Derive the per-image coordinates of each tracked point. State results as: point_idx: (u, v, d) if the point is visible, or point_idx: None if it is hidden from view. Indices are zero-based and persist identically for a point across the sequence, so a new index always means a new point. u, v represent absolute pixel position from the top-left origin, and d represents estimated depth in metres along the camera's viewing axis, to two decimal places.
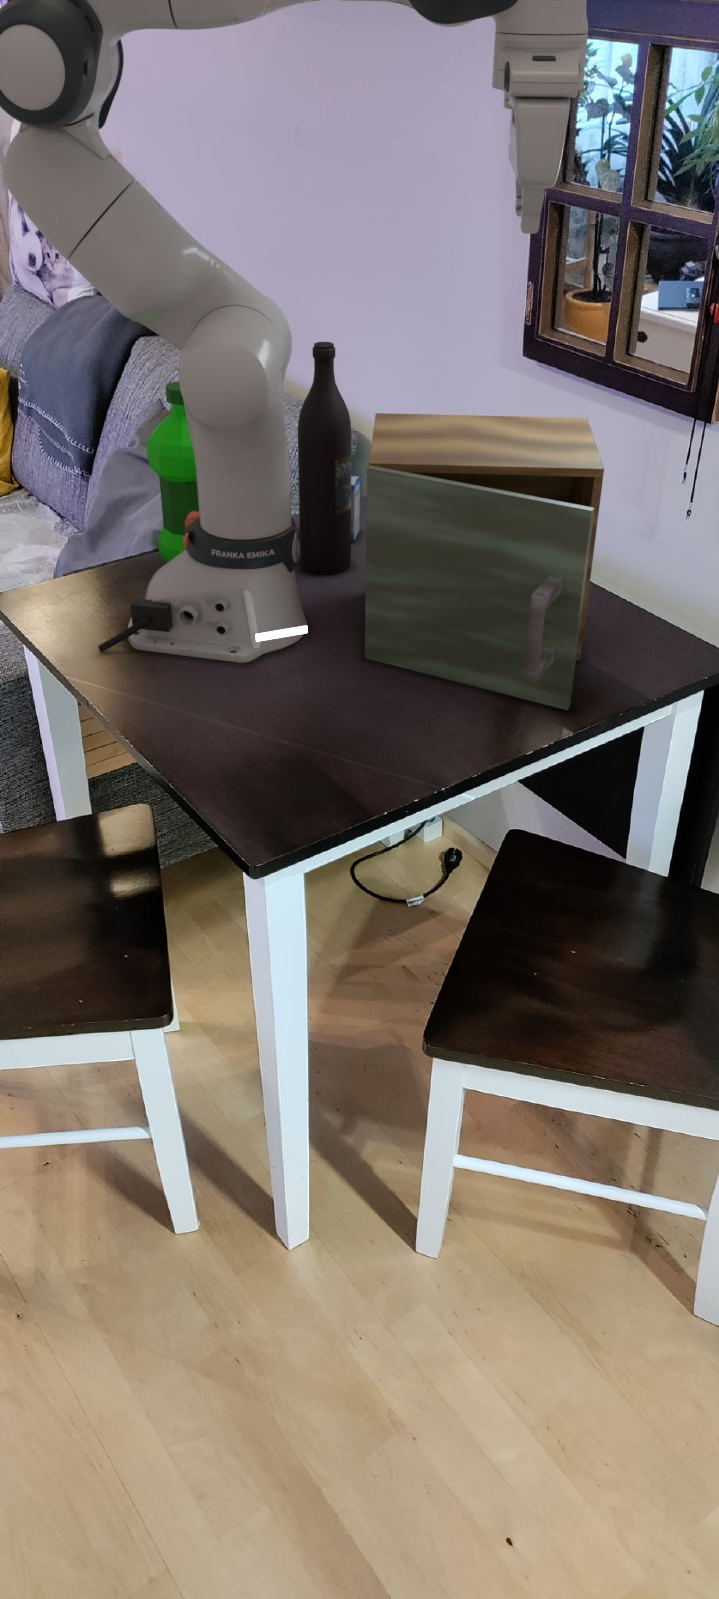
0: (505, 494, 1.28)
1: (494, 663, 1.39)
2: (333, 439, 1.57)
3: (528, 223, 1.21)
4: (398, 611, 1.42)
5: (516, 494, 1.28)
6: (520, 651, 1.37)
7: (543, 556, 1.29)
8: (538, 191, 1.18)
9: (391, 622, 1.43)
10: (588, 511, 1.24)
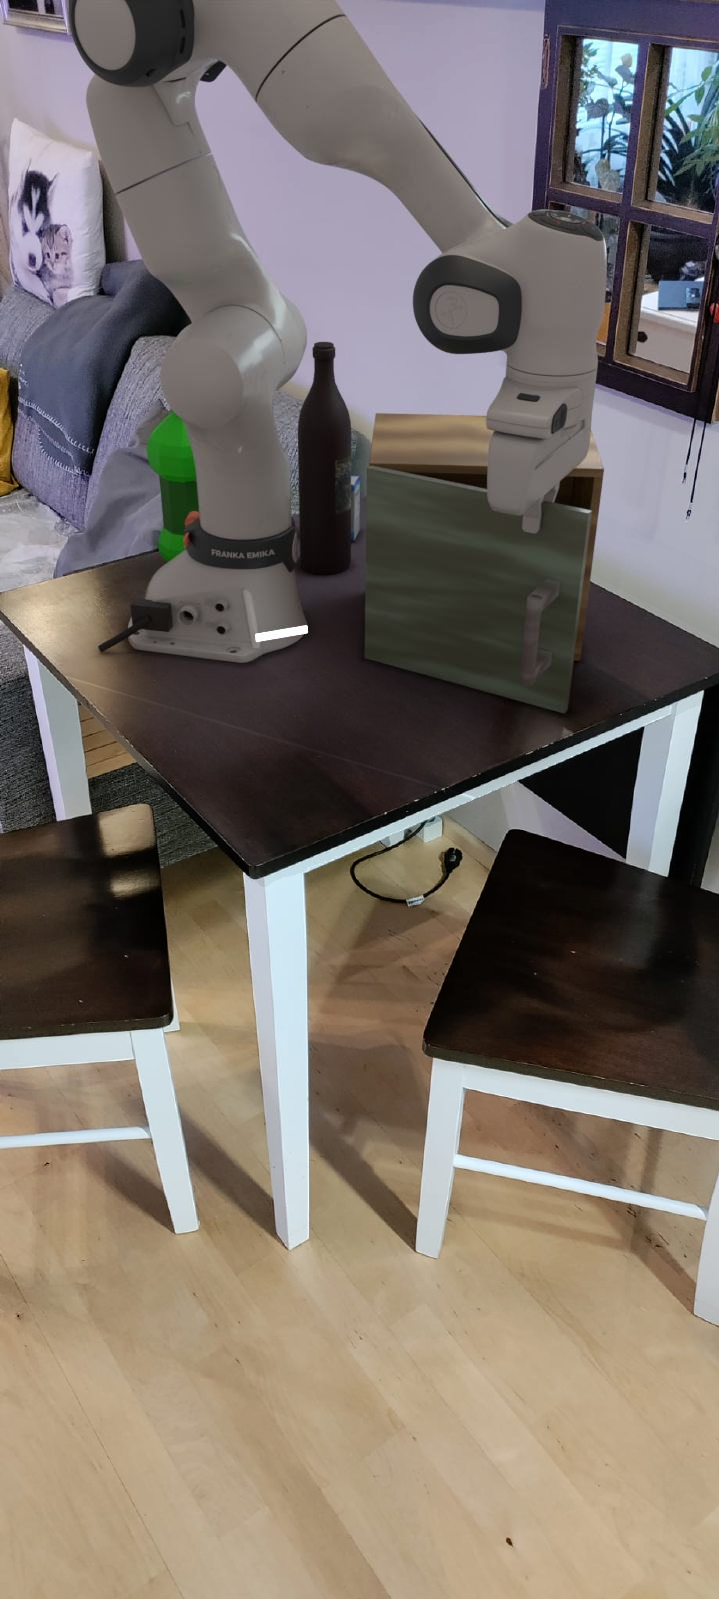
0: None
1: (492, 665, 1.39)
2: (332, 439, 1.57)
3: (528, 523, 1.26)
4: (398, 612, 1.42)
5: None
6: (518, 653, 1.36)
7: (540, 558, 1.29)
8: None
9: (390, 622, 1.43)
10: (585, 514, 1.24)
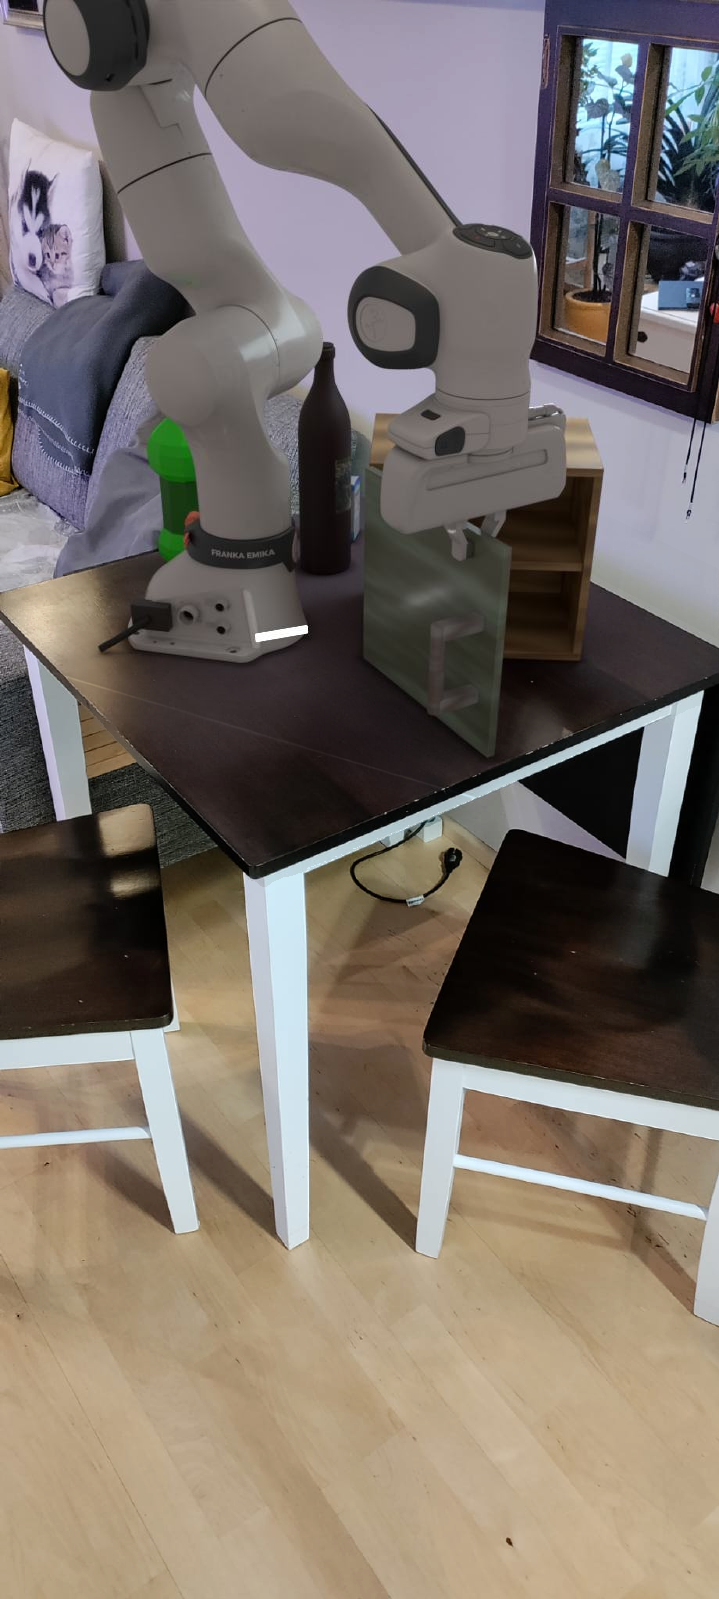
0: None
1: None
2: (332, 439, 1.57)
3: (455, 549, 1.20)
4: (383, 617, 1.41)
5: None
6: (457, 684, 1.31)
7: (472, 589, 1.23)
8: (452, 525, 1.18)
9: (378, 626, 1.42)
10: (501, 550, 1.16)
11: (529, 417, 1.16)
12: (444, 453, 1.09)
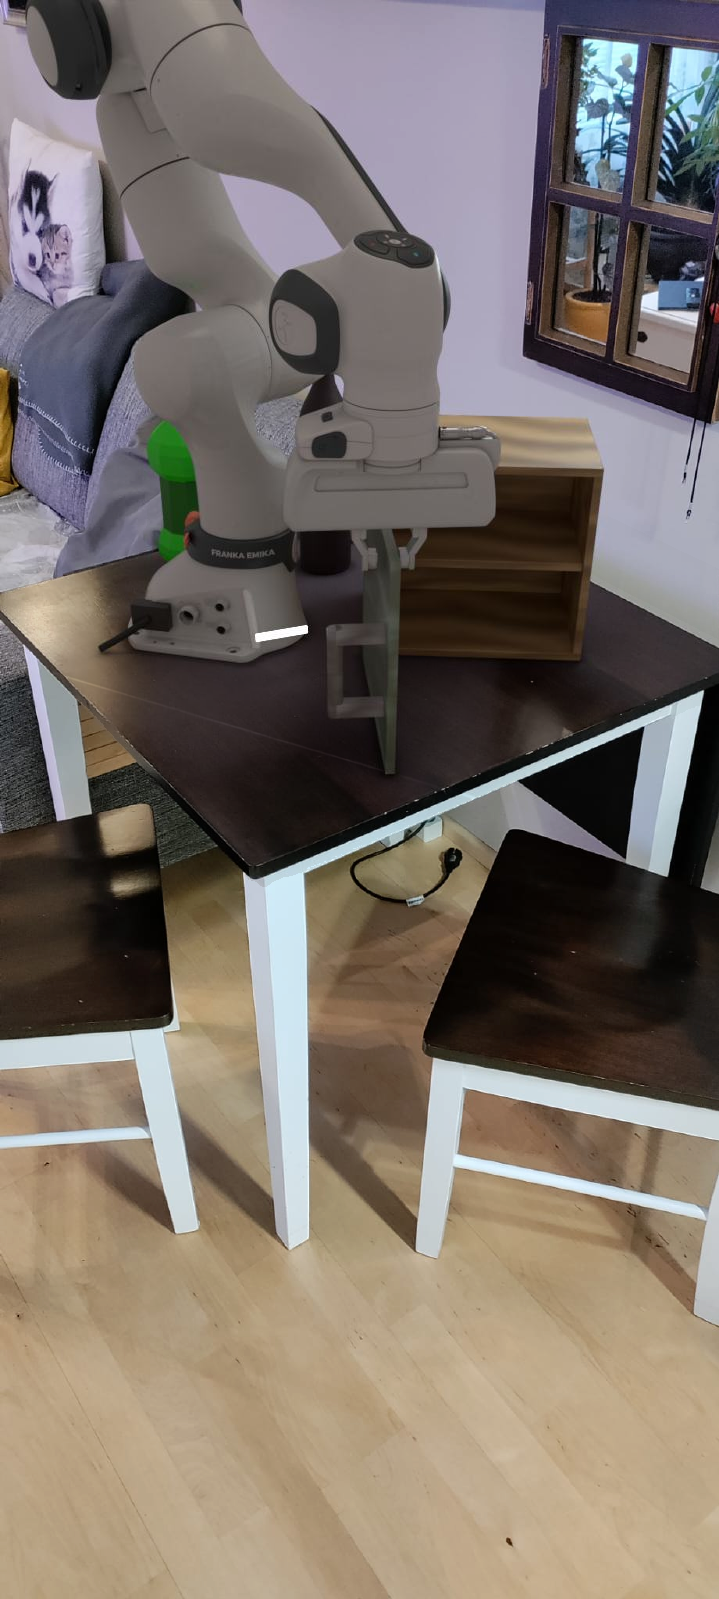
0: None
1: None
2: None
3: (361, 559, 1.19)
4: (366, 619, 1.40)
5: None
6: (380, 695, 1.28)
7: (383, 599, 1.20)
8: (351, 532, 1.16)
9: None
10: (390, 563, 1.14)
11: (449, 436, 1.12)
12: (322, 456, 1.09)
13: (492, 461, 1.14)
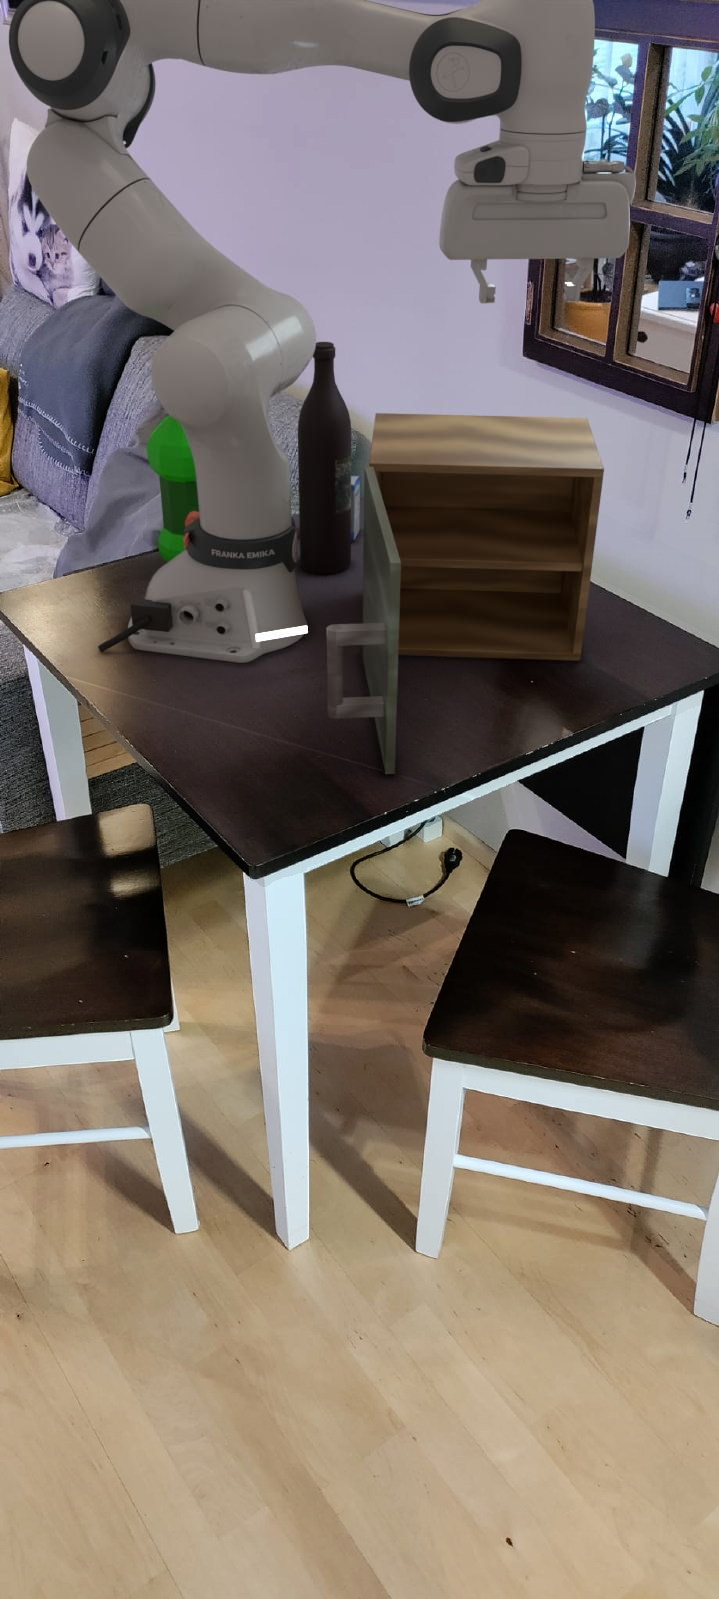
0: (380, 524, 1.21)
1: None
2: (332, 439, 1.57)
3: (480, 292, 1.33)
4: (366, 619, 1.40)
5: (386, 527, 1.20)
6: (380, 695, 1.28)
7: (383, 599, 1.20)
8: (473, 264, 1.31)
9: None
10: (390, 563, 1.14)
11: (592, 169, 1.26)
12: (483, 180, 1.24)
13: (627, 195, 1.28)
